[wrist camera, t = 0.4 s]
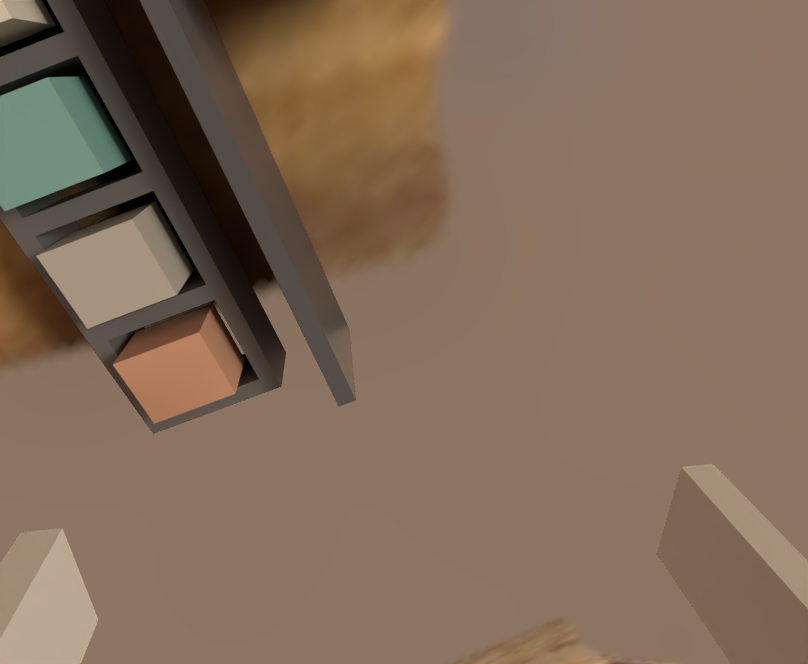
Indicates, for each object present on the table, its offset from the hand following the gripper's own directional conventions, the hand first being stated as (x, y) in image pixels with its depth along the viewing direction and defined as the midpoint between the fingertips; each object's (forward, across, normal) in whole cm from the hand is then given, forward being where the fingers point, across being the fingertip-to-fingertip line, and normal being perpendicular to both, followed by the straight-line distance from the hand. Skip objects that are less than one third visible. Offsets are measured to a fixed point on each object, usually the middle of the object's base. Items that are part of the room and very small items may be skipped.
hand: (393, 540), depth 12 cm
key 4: (+22, -10, -6) cm, 25 cm away
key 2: (+23, -14, +6) cm, 27 cm away
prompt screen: (+25, -5, +6) cm, 26 cm away
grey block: (+22, -12, 0) cm, 26 cm away
